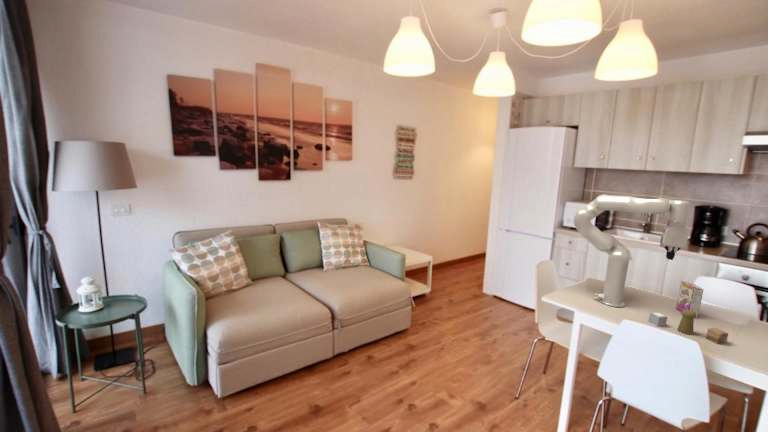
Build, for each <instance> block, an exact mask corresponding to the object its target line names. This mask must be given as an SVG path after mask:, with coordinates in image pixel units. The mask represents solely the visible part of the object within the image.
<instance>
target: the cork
mask: <svg viewBox="0 0 768 432" xmlns="http://www.w3.org/2000/svg"><path fill="white" fill-rule="evenodd" d="M681 316H682V317H681V320H680V321H679V324H678V327H677V329H676V330H678V332H679V333H680V332H681V333H680V334H683V335H687V336H693V335H694V323H695V322H694V321H695V320H694V319H696V318H695V317H696V313H695V312H693V311H691V310H683V311H682V312H681Z"/></svg>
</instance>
